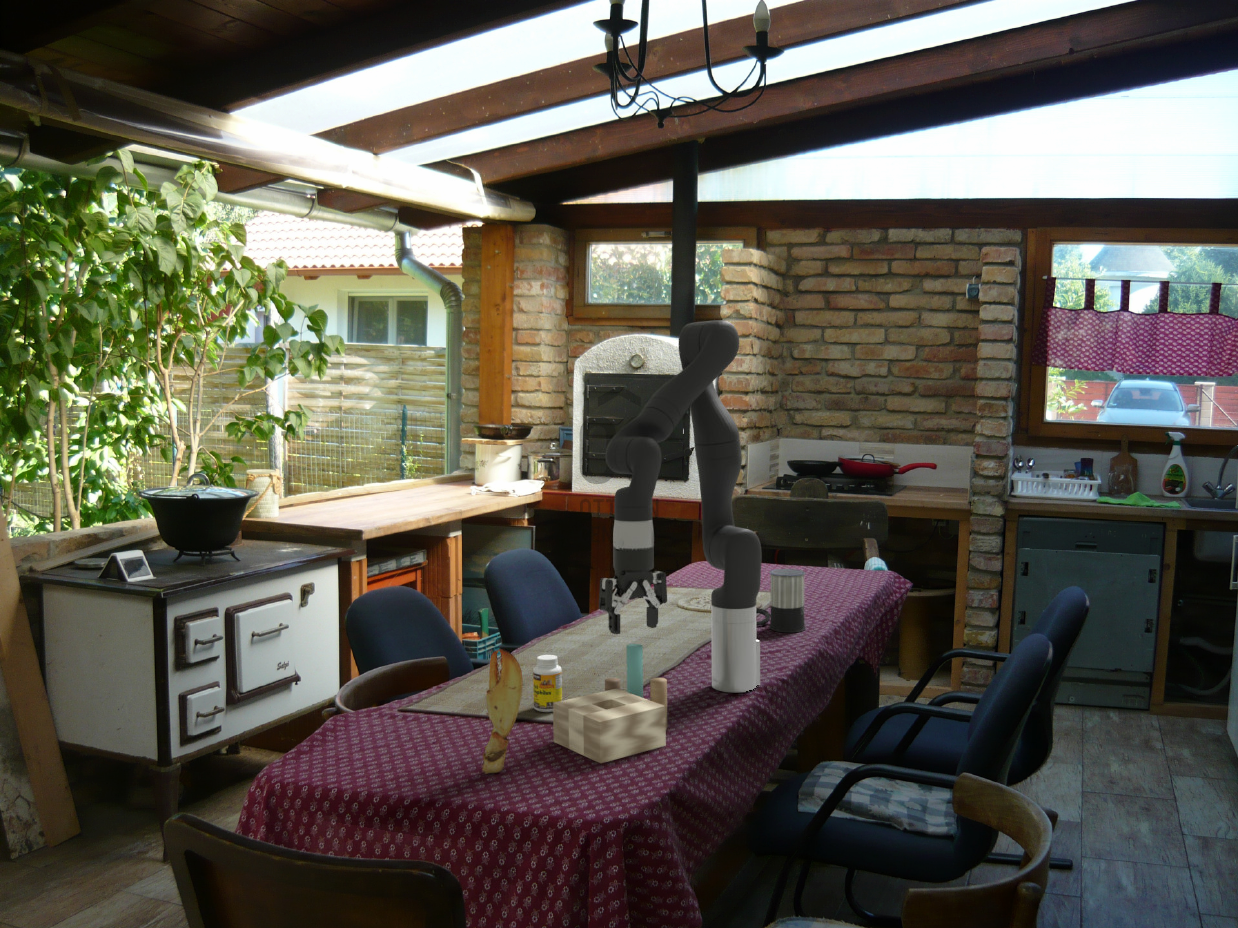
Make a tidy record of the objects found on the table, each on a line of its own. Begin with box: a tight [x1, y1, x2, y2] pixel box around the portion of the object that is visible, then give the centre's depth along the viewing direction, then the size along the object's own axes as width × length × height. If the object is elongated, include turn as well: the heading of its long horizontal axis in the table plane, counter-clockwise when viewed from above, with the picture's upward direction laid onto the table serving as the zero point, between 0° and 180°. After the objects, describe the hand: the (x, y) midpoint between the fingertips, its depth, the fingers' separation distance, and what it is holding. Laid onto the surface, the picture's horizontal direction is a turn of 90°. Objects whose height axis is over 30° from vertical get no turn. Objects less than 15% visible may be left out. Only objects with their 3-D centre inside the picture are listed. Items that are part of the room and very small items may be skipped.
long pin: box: [626, 643, 644, 698], centre depth 201 cm, size 3×3×14 cm
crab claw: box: [481, 648, 524, 775], centre depth 174 cm, size 7×5×20 cm
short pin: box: [604, 677, 622, 691], centre depth 207 cm, size 3×3×6 cm
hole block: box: [552, 689, 667, 764], centre depth 187 cm, size 14×14×7 cm
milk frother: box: [756, 568, 806, 633], centre depth 276 cm, size 14×16×15 cm
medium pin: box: [649, 677, 668, 731], centre depth 195 cm, size 3×3×9 cm
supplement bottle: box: [532, 654, 563, 713], centre depth 208 cm, size 6×6×10 cm
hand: (633, 630), depth 200 cm, fingers open, 8 cm apart
